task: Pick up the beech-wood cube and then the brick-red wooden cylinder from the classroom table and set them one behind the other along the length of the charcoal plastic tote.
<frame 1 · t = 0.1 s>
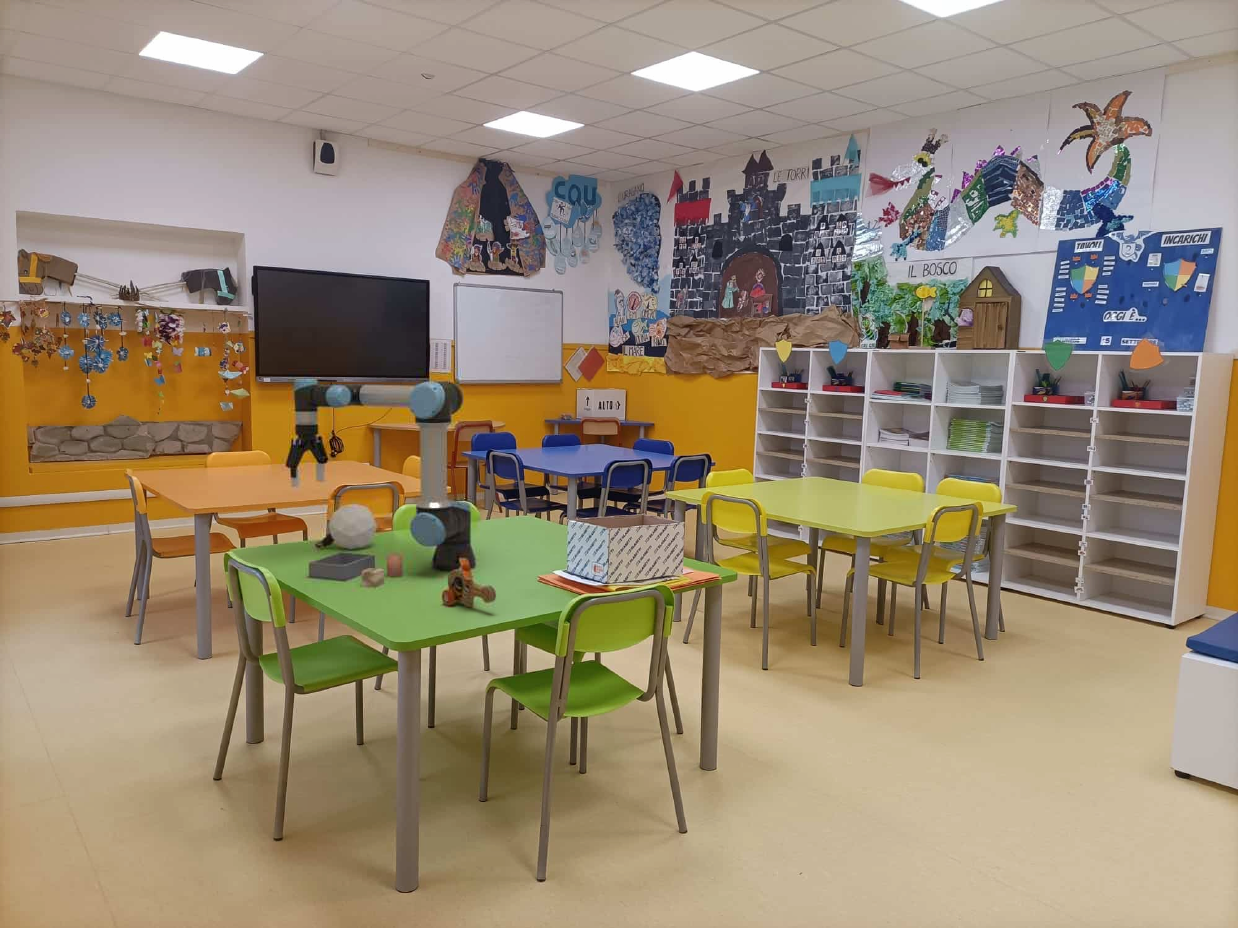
hand: (308, 484, 303), 28 cm above the table, tool pointing down, fingers open, 13 cm apart
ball: (345, 548, 331), on the table
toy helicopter: (469, 608, 255), on the table
red cylinder: (394, 575, 290), on the table
tote: (342, 573, 292), on the table
wooden cube: (372, 585, 278), on the table
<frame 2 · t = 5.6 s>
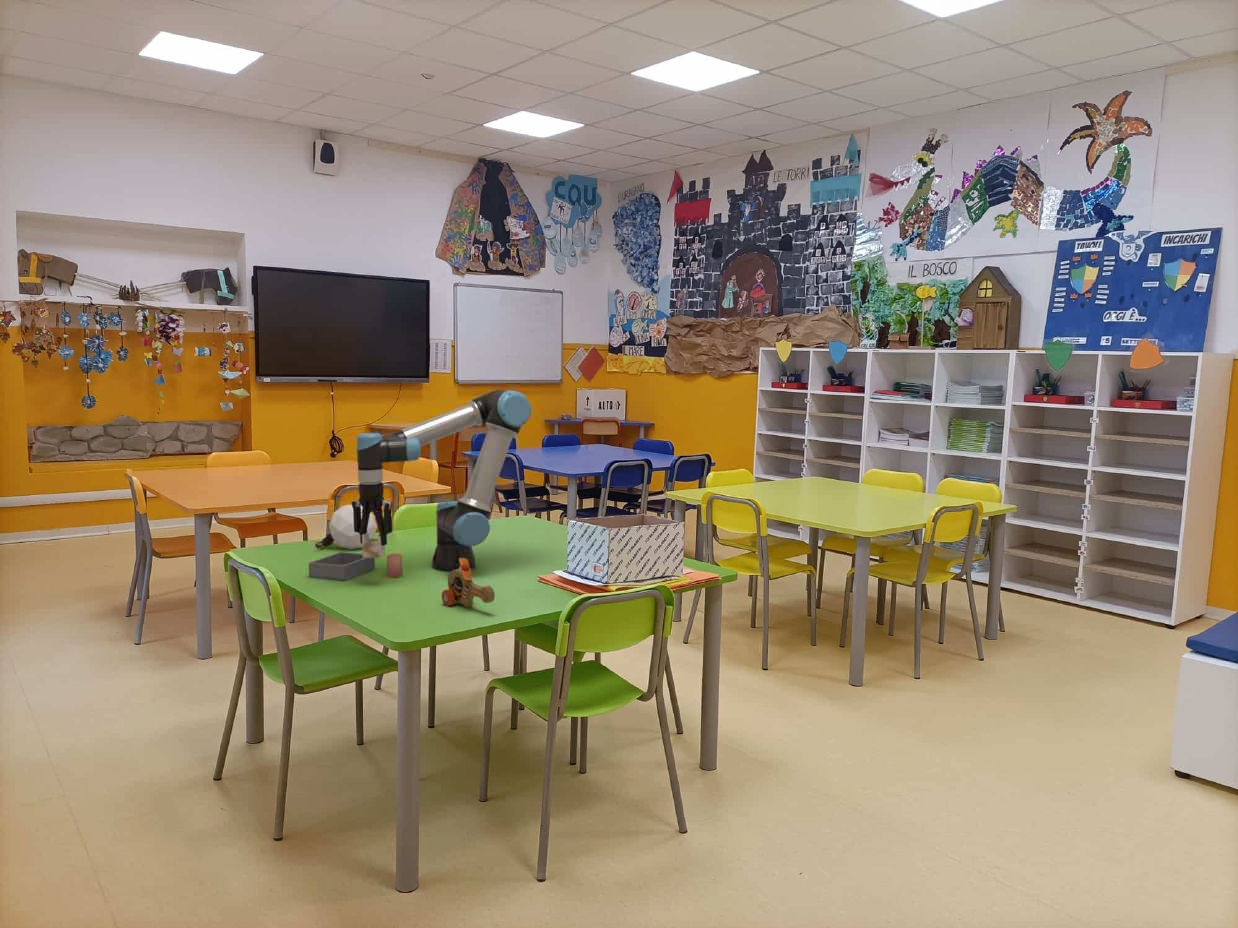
hand: (374, 554, 277), 10 cm above the table, tool pointing down, fingers closed on wooden cube, 5 cm apart
wooden cube: (374, 556, 277), point 9 cm above the table, touching gripper
everything else where it was.
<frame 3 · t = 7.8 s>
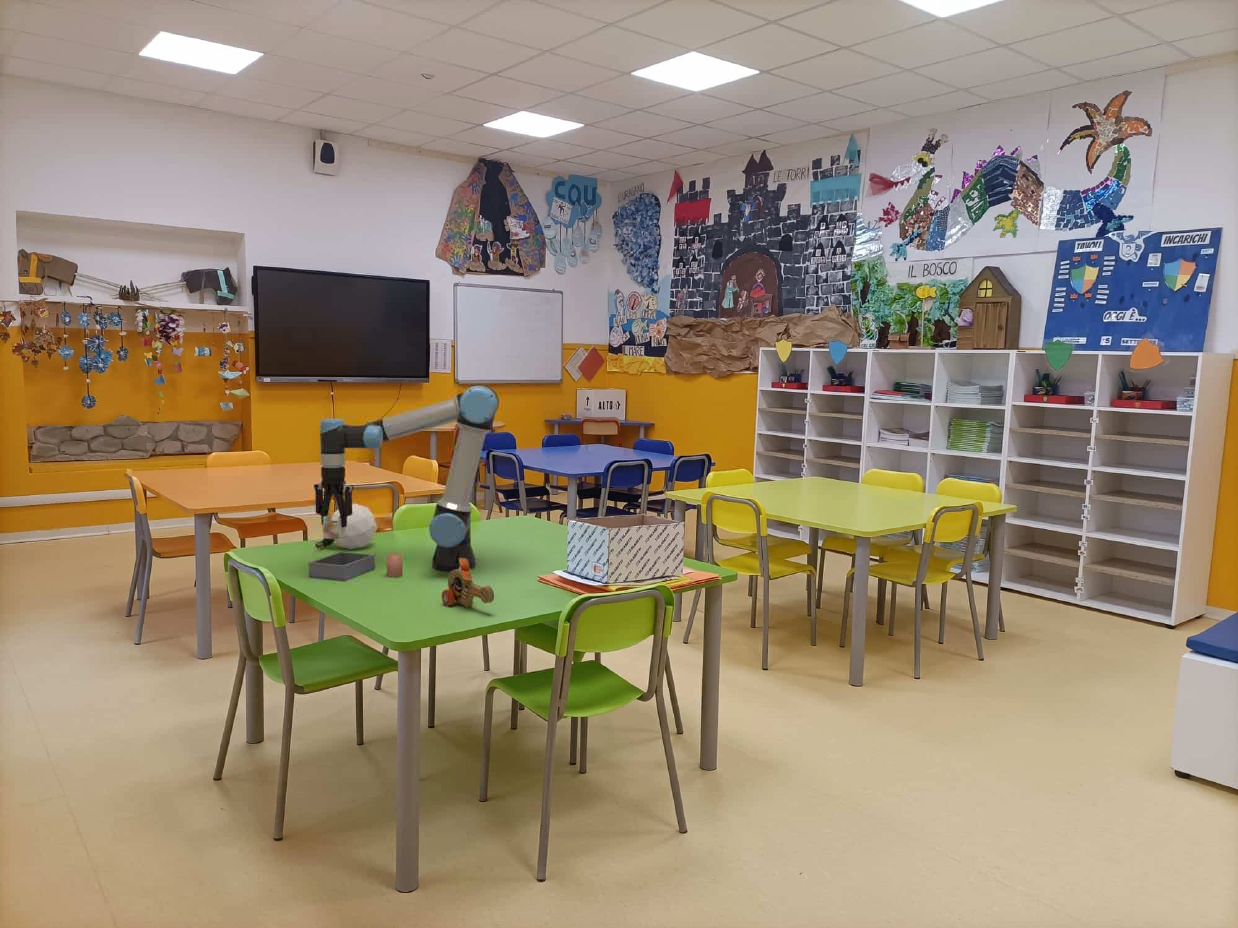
hand: (334, 535, 287), 14 cm above the table, tool pointing down, fingers closed on wooden cube, 5 cm apart
wooden cube: (334, 537, 287), point 13 cm above the table, touching gripper
everything else where it was.
when the fingers open (4 cm above the table, at t = 10.4 s): wooden cube drops 2 cm, resting on tote.
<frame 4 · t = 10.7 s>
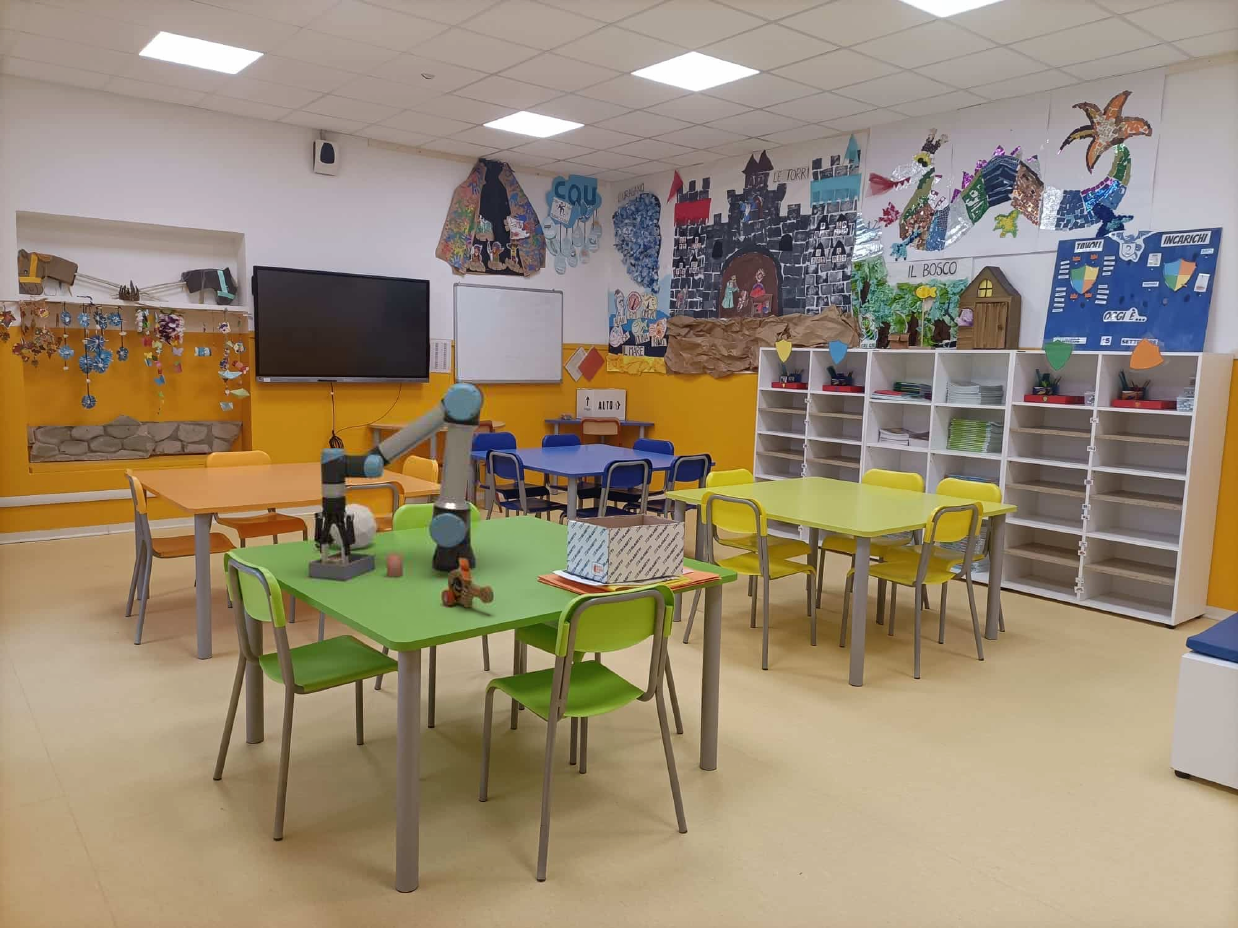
hand: (335, 564, 288), 4 cm above the table, tool pointing down, fingers open, 7 cm apart
wooden cube: (335, 573, 288), point 1 cm above the table, touching tote
everything else where it was.
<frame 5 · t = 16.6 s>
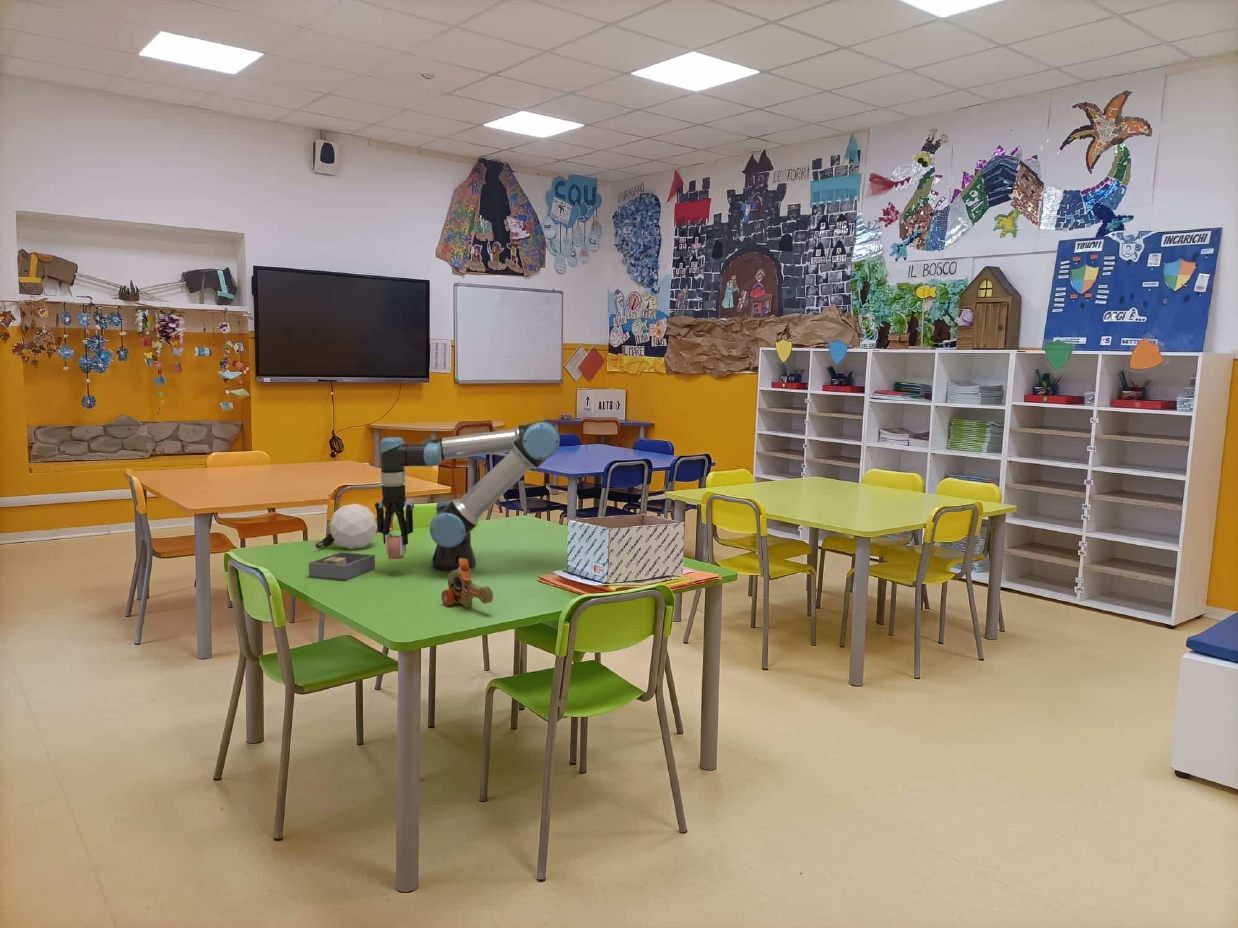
hand: (396, 553, 289), 8 cm above the table, tool pointing down, fingers closed on red cylinder, 5 cm apart
red cylinder: (396, 557, 289), point 6 cm above the table, touching gripper
everything else where it was.
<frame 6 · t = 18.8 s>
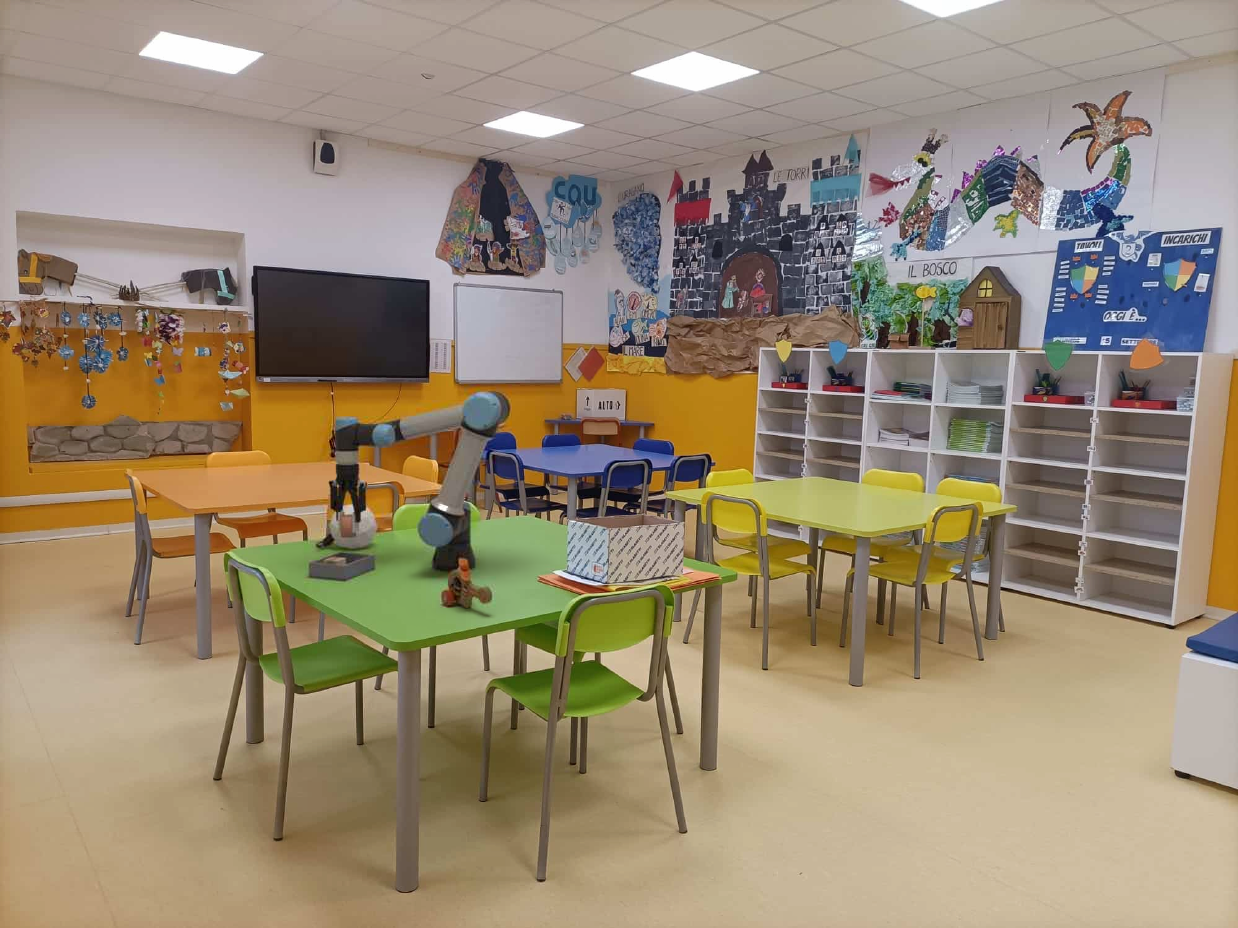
hand: (348, 531, 295), 14 cm above the table, tool pointing down, fingers closed on red cylinder, 5 cm apart
red cylinder: (348, 536, 295), point 12 cm above the table, touching gripper
everything else where it was.
when the fingers open (5 cm above the table, at t = 21.2 s): red cylinder drops 2 cm, resting on tote.
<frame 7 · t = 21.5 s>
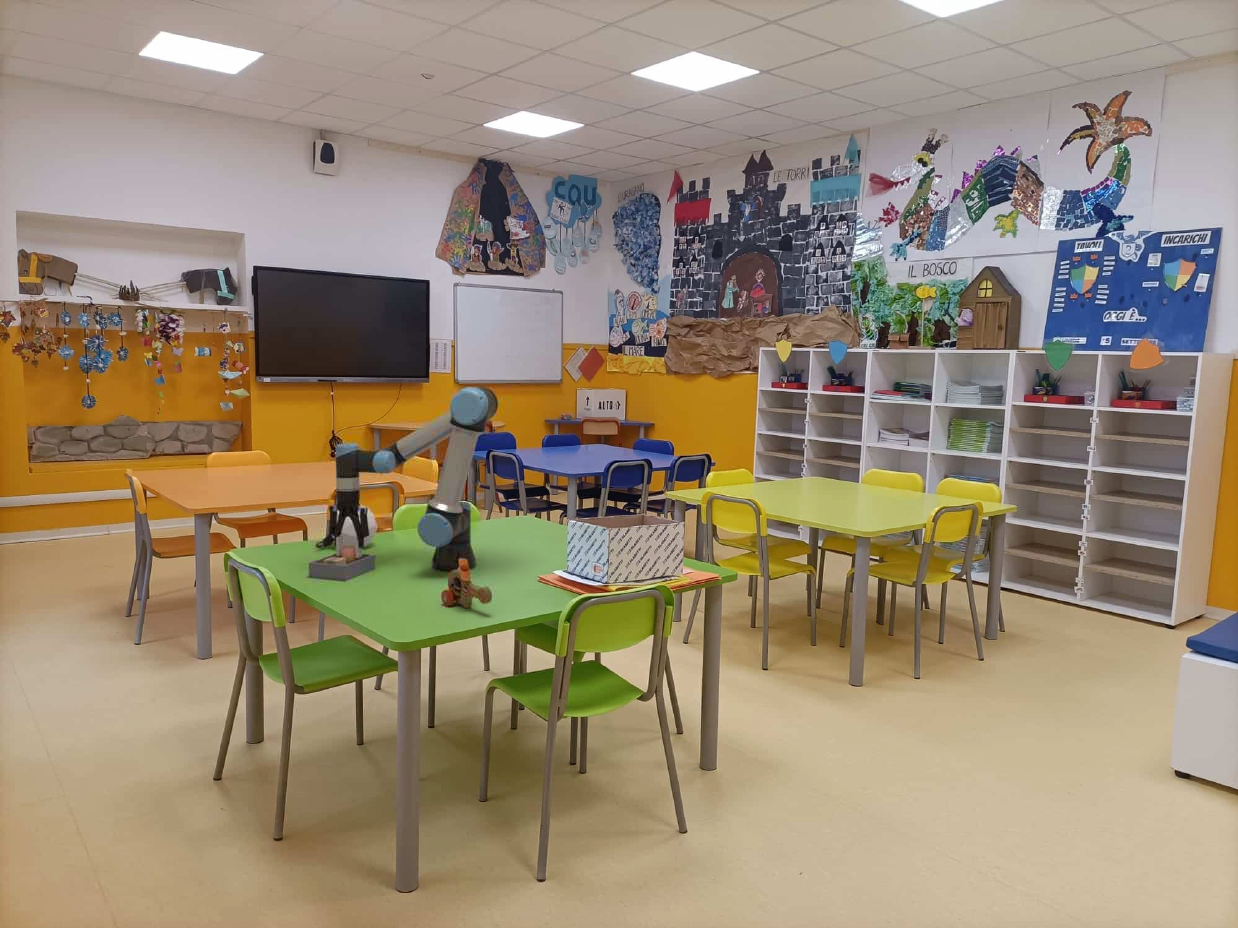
hand: (349, 556, 296), 5 cm above the table, tool pointing down, fingers open, 7 cm apart
red cylinder: (349, 568, 296), point 1 cm above the table, touching tote
everything else where it was.
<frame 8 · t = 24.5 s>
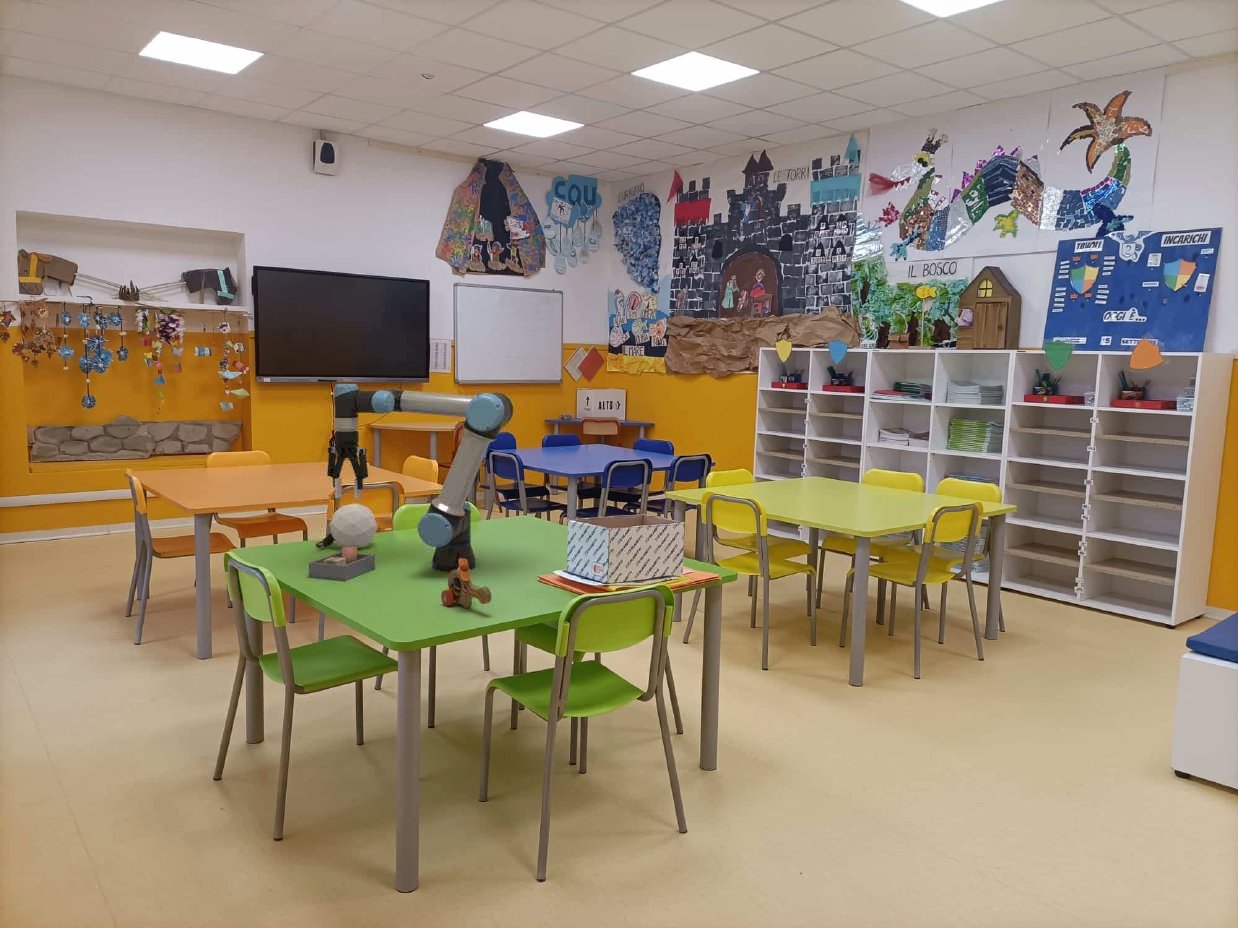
hand: (348, 498, 293), 25 cm above the table, tool pointing down, fingers open, 7 cm apart
nothing on the table moved.
at the end: wooden cube inside the target area on the tote (4.2 cm from its centre), point 0.8 cm above the tote's base; red cylinder inside the target area on the tote (3.9 cm from its centre), point 0.8 cm above the tote's base; the gripper is holding nothing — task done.
